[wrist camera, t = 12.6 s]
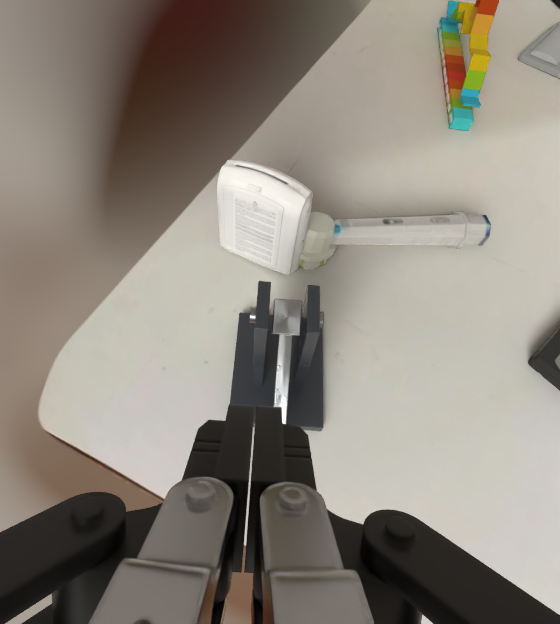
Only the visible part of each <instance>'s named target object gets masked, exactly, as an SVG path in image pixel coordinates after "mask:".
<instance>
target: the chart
mask: <svg viewBox="0 0 560 624" xmlns="http://www.w3.org/2000/svg"><path fill="white" fill-rule="evenodd" d="M498 3H499V0H477V1H476V3H475V4H470V3H463V2H456V1H449V2H448V9H447V18H443V17H441V19H440V22H439V25H438V28H437V29H438V37H439V45H440V54H441V62H442V70H443V79H444V87H445V95H446V104H447V111H448V119H449V127H450V128H453V129H460V130H467V131H469V129H470V127H471V125H472V123H473V121H474V118H473V112H472V107H478V108H480V107H481V104H480V102H479V99H478V96H479V93H480V89H481V86H482V83H483V80H484V77H485V73H486V70H487V67H488V64H489V61H490V58H491V56H490V54H489V52H488V50H487V49H488V33H489V30H490V27H491V24H492V21H493V18H494V15H495V12H496V9H497V6H498ZM458 23H462V29H461V33H464V34H470V40H469V51H470V54H471V56H472V58H471V61H470V64H469V68H468V71H467V75H466V71H465V65H464V59H463V53H462V47H461V41H460V35H459V29H458Z"/></svg>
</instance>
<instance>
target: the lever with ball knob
mask: <svg viewBox="0 0 560 624" xmlns="http://www.w3.org/2000/svg"><path fill="white" fill-rule="evenodd" d="M301 312H302V301H299V300H286V299H275V300H274V309H273V323H272V334H279V335H278V348H277V362H276V376H275V391H274V405H273V407H282V424H283V425H290V424H289V423H287V422H286V420H287V405H288V391H289V377H290V362H291V348H292V335H297V336H300V327H301Z"/></svg>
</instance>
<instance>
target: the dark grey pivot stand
mask: <svg viewBox="0 0 560 624" xmlns="http://www.w3.org/2000/svg"><path fill="white" fill-rule="evenodd" d="M270 288H271V282H263V281H259V283H258V295H257V307H251V308H250V313H240V314H239V323H238V332H237V342H236V351H235V361H234V370H233V380H232V389H231V399H230V404H238V405H253V406H254V417H253V427H255V420H256V407H257V406H269V407H273V405H274V391H275V376H276V362H277V348H278V335H279V334H272V323H273V315H269V304H270ZM323 324H324V312H320V286H315V285H308V286H307V291H306V295H305V300H304V305H303V309H302V314H301V327H300V336H297V335H292V348H291V362H290V377H289V391H288V405H287V420H286V422H287V423H289V424H290V425H296V426H300V427H301V428H302V430H313V431H321V430H322V428H323V346H322V328H323Z"/></svg>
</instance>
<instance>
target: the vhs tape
mask: <svg viewBox="0 0 560 624" xmlns="http://www.w3.org/2000/svg"><path fill="white" fill-rule="evenodd" d="M528 363H529V365H530V366H531V367H532V368H533V369H535V370H536V371H537V372H539V373H540V374H541V375H542V376H543V377H544V378H545V379H547V380H548V381H549V382H550V383H552V384H553V385H554V386H555V387H556V388H558V389H559V390H560V326H559V328H558V329H557V330H556V331H555V332H554V333H553V334H552V335H551V337H550V338H549V339H548V340H547V341H546V342H545V343H544V344H543V345H542V347H541V348H540V349H539V350H538V351H537V352H536V353H535V354H534V356H533V357H532V358H531V359H530V360H529V361H528Z"/></svg>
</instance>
